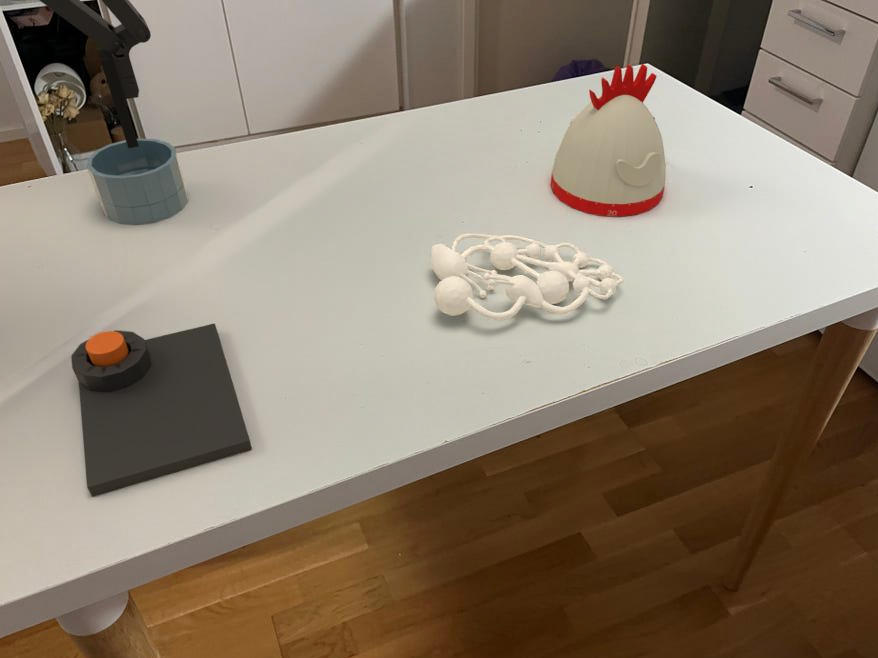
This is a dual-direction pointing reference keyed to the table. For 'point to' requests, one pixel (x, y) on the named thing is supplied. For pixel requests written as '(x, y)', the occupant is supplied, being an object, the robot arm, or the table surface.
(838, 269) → the table surface
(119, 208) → the bowl
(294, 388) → the table surface
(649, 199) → the kitchen timer
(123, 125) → the robot arm
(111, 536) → the table surface
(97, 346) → the tare button
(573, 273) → the tangled rod sculpture
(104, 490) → the scale
